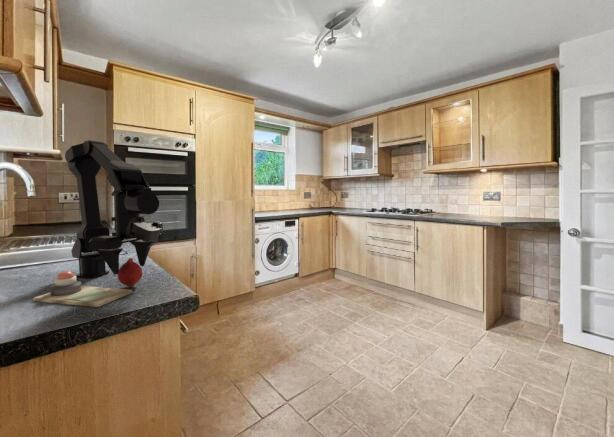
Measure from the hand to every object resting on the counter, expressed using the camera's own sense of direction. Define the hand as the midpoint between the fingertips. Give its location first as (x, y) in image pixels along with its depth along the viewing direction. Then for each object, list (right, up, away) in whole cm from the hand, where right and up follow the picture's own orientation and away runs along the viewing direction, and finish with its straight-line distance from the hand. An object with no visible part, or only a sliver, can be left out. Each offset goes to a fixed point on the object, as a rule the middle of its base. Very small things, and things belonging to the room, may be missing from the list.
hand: (129, 269), depth 80 cm
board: (-7, -5, -8) cm, 11 cm away
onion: (0, -5, 0) cm, 5 cm away
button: (-12, -2, -7) cm, 14 cm away
